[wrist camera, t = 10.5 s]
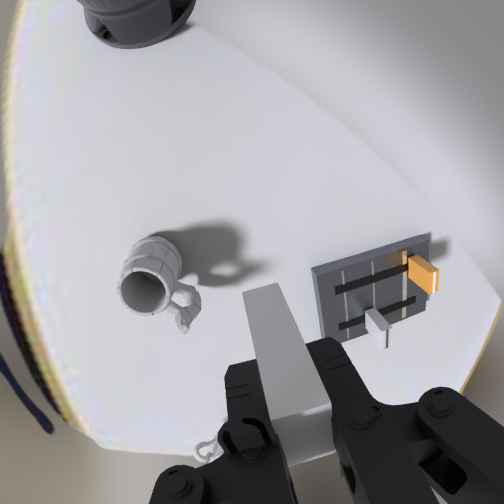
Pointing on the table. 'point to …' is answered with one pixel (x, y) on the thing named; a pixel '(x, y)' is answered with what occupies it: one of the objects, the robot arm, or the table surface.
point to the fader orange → (423, 274)
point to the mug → (157, 282)
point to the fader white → (378, 328)
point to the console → (368, 288)
